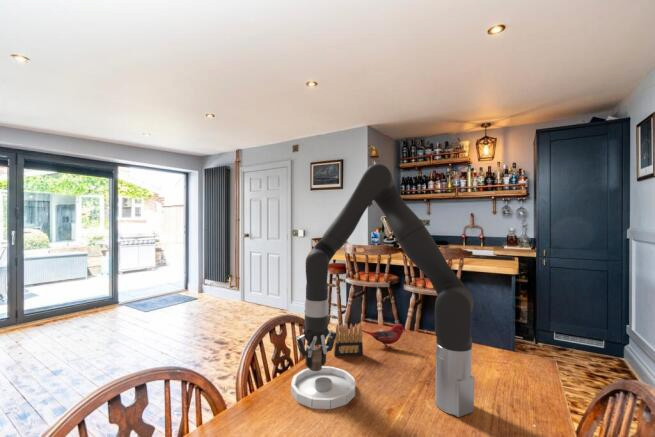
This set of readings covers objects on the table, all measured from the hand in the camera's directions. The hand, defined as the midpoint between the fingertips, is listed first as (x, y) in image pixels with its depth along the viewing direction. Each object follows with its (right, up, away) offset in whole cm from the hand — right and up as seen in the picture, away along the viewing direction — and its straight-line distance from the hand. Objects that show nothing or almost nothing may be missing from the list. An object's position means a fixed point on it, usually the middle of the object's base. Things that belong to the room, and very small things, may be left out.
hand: (315, 365), depth 102 cm
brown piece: (0, -1, 0) cm, 1 cm away
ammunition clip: (+12, -5, +19) cm, 23 cm away
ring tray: (+2, -5, -5) cm, 7 cm away
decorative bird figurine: (+26, -5, +26) cm, 37 cm away
